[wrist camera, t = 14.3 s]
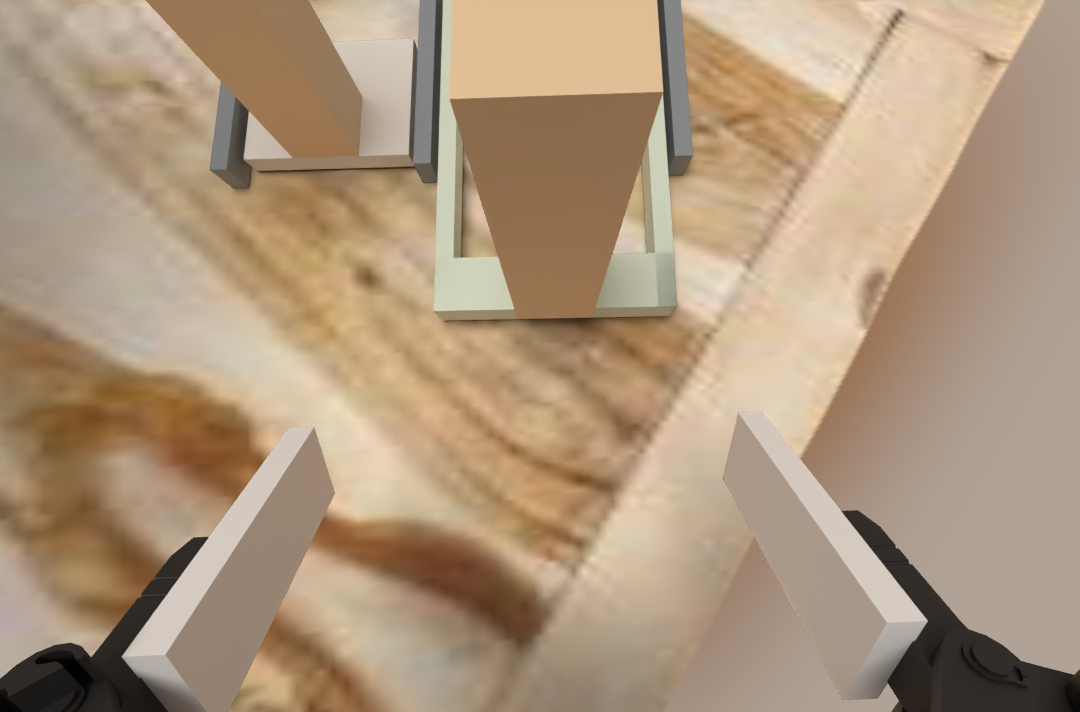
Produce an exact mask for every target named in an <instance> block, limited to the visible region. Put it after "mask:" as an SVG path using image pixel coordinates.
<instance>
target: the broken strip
mask: <svg viewBox="0 0 1080 712" xmlns="http://www.w3.org/2000/svg"><path fill="white" fill-rule="evenodd" d="M146 1H147V2H148V3H149V4H150V6H151V7H152V8H153V9H154V10H155V11H156V12H157V13H158V14H159V15H160V16H161V17H162V18H163V19H164V21H165V22H166V23H167V24H168V25H169V26H170V27H171V28H172V29H173V30H174V31H175V32H176V33H177V35H178V36H179V37H180V38H181V39H182V40H183V41H184V42H185V43H186V44H187V45H188V46H189V47H190V48H191V50H192V51H193V52H194V53H195V54H196V55H197V56H198V57H199V58H200V59H201V60H202V61H203V62H204V63H205V65H206V66H207V67H208V68H209V69H210V70H211V71H212V72H213V73H214V74H215V75H216V76H217V77H218V78H219V80H220V81H221V82H222V83H223V84H224V85H225V86H226V87H227V88H228V89H229V90H230V91H231V92H232V93H233V95H234V96H235V97H236V98H237V99H238V100H239V101H240V102H241V103H242V104H243V105H244V106H245V107H246V108H247V110H248V111H249V116H248V125H247V133H246V142H245V151H244V160H245V161H246V162H247V163H248V164H249V165H250V166H251V167H253V168H254V169H255V170H256V171H271V170H305V169H339V168H373V167H407V166H414V164H413V157H414V132H415V108H416V83H417V58H418V50H417V47H416V44H415V41H414V39H392V40H365V41H338V42H331V40H330V38H329V36H328V34H327V33H326V31H325V29H324V27H323V25H322V24H321V22H320V20H319V18H318V17H317V15H316V13H315V11H314V9H313V8H312V6H311V4H310V2H309V1H308V0H146Z"/></svg>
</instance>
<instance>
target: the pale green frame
mask: <svg viewBox="0 0 1080 712" xmlns="http://www.w3.org/2000/svg"><path fill="white" fill-rule="evenodd" d="M463 145H464V148H465V151H466V154H467V158H468V161H469V164H470V167H471V171H472V174H473V177H474V180H475V183H476V187H477V190H478V193H479V196H480V200H481V203H482V206H483V209H484V213H485V216H486V219H487V222H488V226H489V229H490V232H491V235H492V238H493V242H494V245H495V248H496V251H497V255H498V257H468V258H461V229H462V178H463ZM641 161H642V176H643V193H644V211H645V228H646V246H647V253H636V254H612V253H613V250H614V247H615V244H616V241H617V237H618V234H619V231H620V228H621V225H622V222H623V218H624V215H625V212H626V209H627V206H628V202H629V199H630V196H631V193H632V190H633V187H634V183H635V180H636V177H637V174H638V171H639V167H640V164H641ZM676 307H677V293H676V279H675V264H674V249H673V235H672V220H671V205H670V191H669V176H668V161H667V147H666V132H665V117H664V103H663V80H662V65H661V51H660V36H659V21H658V7H657V0H443V17H442V50H441V83H440V116H439V150H438V183H437V216H436V249H435V283H434V312H435V313H436V314H437V315H438V316H439V317H440V318H441V319H442V320H493V319H543V318H594V317H644V316H669V315H670V313H671V312H672V311H673V310H674V309H675V308H676Z"/></svg>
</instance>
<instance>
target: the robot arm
mask: <svg viewBox="0 0 1080 712" xmlns="http://www.w3.org/2000/svg"><path fill="white" fill-rule="evenodd" d="M723 480H724V482H725V483H726V485H727V487H728V489H729V491H730V493H731V495H732V496H733V498H734V500H735V502H736V504H737V506H738V507H739V509H740V511H741V513H742V515H743V517H744V519H745V520H746V522H747V524H748V526H749V528H750V530H751V532H752V533H753V535H754V537H755V539H756V541H757V543H758V544H759V546H760V548H761V550H762V552H763V554H764V556H765V557H766V559H767V561H768V563H769V565H770V567H771V569H772V570H773V572H774V574H775V576H776V578H777V580H778V581H779V583H780V585H781V587H782V589H783V591H784V592H785V594H786V596H787V598H788V600H789V602H790V604H791V606H792V607H793V609H794V611H795V613H796V615H797V617H798V619H799V620H800V622H801V624H802V626H803V628H804V630H805V632H806V633H807V635H808V637H809V639H810V641H811V643H812V644H813V646H814V648H815V650H816V652H817V654H818V655H819V657H820V659H821V661H822V663H823V665H824V667H825V668H826V670H827V672H828V674H829V676H830V678H831V680H832V681H833V683H834V685H835V687H836V689H837V691H838V693H839V694H840V696H841V698H842V700H854V699H875V698H878V697H879V696H880V694H881V693H882V691H883V690H884V688H885V686H886V685H887V683H888V684H889V685H890V687H891V689H892V690H893V692H894V693H895V695H896V696H897V698H898V700H899V702H898V703H897V705H896V706H895V708H894V709H893V710H892V712H1080V670H1079V671H1078V672H1077V673H1076V674H1075V675H1072V674H1068V673H1064V672H1061V671H1057V670H1053V669H1049V668H1045V667H1041V666H1037V665H1034V664H1030V663H1026V662H1023V661H1020V660H1019V659H1018V658H1017V657H1016V656H1015V655H1014V654H1013V653H1011V652H1010V651H1009V650H1008V649H1007V648H1005V647H1004V646H1003V645H1001V644H1000V643H998V642H996V641H994V640H993V639H991V638H989V637H988V636H986V635H983V634H980V633H977V632H975V631H972V630H968V629H967V627H965V625H964V624H963V623H962V622H961V621H960V620H959V619H958V618H957V617H956V615H955V614H954V613H953V612H952V611H951V610H950V608H949V607H948V606H947V605H946V604H945V602H944V601H943V600H942V599H941V598H940V597H939V596H938V594H937V593H936V592H935V591H934V590H933V588H932V587H931V586H930V585H929V584H928V583H927V581H926V580H925V579H924V578H923V577H922V576H921V574H920V573H919V572H918V571H917V570H916V569H915V567H914V566H913V565H911V564H909V562H908V561H909V560H908V559H907V558H906V557H905V556H904V554H903V553H902V552H901V551H900V550H899V549H896V547H895V544H894V543H893V542H892V540H891V539H890V538H889V537H888V536H887V534H886V533H885V532H884V531H883V530H882V529H881V527H880V526H878V525H877V524H876V523H874V522H873V521H871V520H870V519H869V518H867V517H866V516H865V515H863V514H862V513H860V512H859V511H857V510H855V511H841V510H840V509H839V508H838V507H837V505H836V504H835V503H834V502H833V500H832V499H831V498H830V496H829V495H828V494H827V493H826V491H825V490H824V489H823V488H822V486H821V485H820V484H819V483H818V481H817V480H816V479H815V478H814V476H813V475H812V474H811V472H810V471H809V470H808V469H807V467H806V466H805V465H804V464H803V462H802V461H801V460H800V458H799V457H798V456H797V455H796V453H795V452H794V451H793V450H792V448H791V447H790V446H789V445H788V443H787V442H786V441H785V439H784V438H783V437H782V436H781V434H780V433H779V432H778V431H777V429H776V428H775V427H774V426H773V424H772V423H771V422H770V420H769V419H768V418H767V417H766V415H765V414H764V413H763V412H738V416H737V420H736V424H735V429H734V433H733V437H732V442H731V446H730V450H729V455H728V459H727V463H726V467H725V472H724V476H723ZM334 494H335V492H334V488H333V485H332V482H331V479H330V476H329V473H328V469H327V466H326V463H325V460H324V457H323V454H322V450H321V447H320V444H319V441H318V438H317V435H316V431H315V428H314V427H301V428H288V430H287V431H286V432H285V434H284V435H283V437H282V438H281V439H280V441H279V442H278V443H277V445H276V446H275V448H274V449H273V450H272V452H271V453H270V454H269V456H268V457H267V458H266V460H265V461H264V463H263V464H262V465H261V467H260V468H259V469H258V471H257V472H256V474H255V475H254V476H253V478H252V479H251V480H250V482H249V483H248V484H247V486H246V487H245V489H244V490H243V491H242V493H241V494H240V495H239V497H238V498H237V500H236V501H235V502H234V504H233V505H232V506H231V508H230V509H229V510H228V512H227V513H226V515H225V516H224V517H223V519H222V520H221V521H220V523H219V524H218V526H217V527H216V528H215V530H214V531H213V532H212V534H211V535H210V536H209V537H195V538H193V539H191V540H190V541H189V542H188V543H186V544H185V545H184V546H183V547H181V548H180V549H179V550H178V551H177V552H175V553H174V554H173V555H172V556H171V557H170V558H169V559H168V561H167V562H166V563H165V564H164V566H163V567H162V568H161V570H160V571H159V572H158V573H157V575H156V576H155V580H153V581H151V582H150V584H149V585H148V586H147V587H146V589H145V590H144V591H143V592H142V596H141V598H138V599H137V600H136V601H135V603H134V604H133V605H132V606H131V608H130V609H129V610H128V612H127V613H126V614H125V615H124V617H123V618H122V619H121V621H120V622H119V623H118V624H117V626H116V627H115V628H114V629H113V631H112V632H111V633H110V635H109V636H108V637H107V638H106V640H105V641H104V642H103V643H102V645H101V646H100V647H99V649H98V650H97V651H96V652H95V654H94V655H93V656H92V657H90V656H89V655H88V653H87V652H86V651H85V650H84V649H83V648H82V646H79V645H76V644H73V643H66V644H60V645H54V646H52V647H49V648H47V649H44V650H42V651H40V652H37V653H35V654H34V655H32V656H30V657H29V658H27V659H25V660H24V661H22V662H21V663H19V664H17V665H16V666H15V667H14V668H12V669H11V670H10V671H9V672H8V673H7V674H5V675H4V676H3V677H2V678H1V679H0V712H229V710H230V708H231V706H232V704H233V701H234V699H235V697H236V695H237V693H238V691H239V689H240V687H241V685H242V683H243V681H244V679H245V677H246V675H247V673H248V671H249V669H250V667H251V665H252V662H253V660H254V658H255V656H256V654H257V652H258V650H259V648H260V646H261V644H262V642H263V640H264V638H265V636H266V634H267V632H268V630H269V628H270V626H271V623H272V621H273V619H274V617H275V615H276V613H277V611H278V609H279V607H280V605H281V603H282V601H283V599H284V597H285V595H286V593H287V591H288V589H289V587H290V584H291V582H292V580H293V578H294V576H295V574H296V572H297V570H298V568H299V566H300V564H301V562H302V560H303V558H304V556H305V554H306V552H307V550H308V548H309V545H310V543H311V541H312V539H313V537H314V535H315V533H316V531H317V529H318V527H319V525H320V523H321V521H322V519H323V517H324V515H325V513H326V511H327V509H328V506H329V504H330V502H331V500H332V498H333V496H334Z"/></svg>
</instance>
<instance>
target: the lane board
mask: <svg viewBox="0 0 1080 712" xmlns="http://www.w3.org/2000/svg"><path fill="white" fill-rule="evenodd" d="M657 7H658V21H659V36H660V51H661V65H662V80H663V103H664V117H665V132H666V147H667V161H668V176H676V175H683V174H684V172H685V170H686V168H687V166H688V164H689V162H690V160H691V158H692V156H693V152H692V140H691V127H690V114H689V102H688V89H687V76H686V64H685V51H684V39H683V26H682V13H681V1H680V0H657ZM442 17H443V0H420V9H419V34H418V58H417V83H416V108H415V132H414V157H413V164H414V166H415V168H416V170H417V172H418V174H419V176H420V178H421V180H422V182H423V183H429V182H438V150H439V116H440V83H441V50H442ZM248 116H249V111H248V110H247V108H246V107H245V106H244V105H243V104H242V103H241V102H240V101H239V100H238V99H237V98H236V97H235V96H234V95H233V93H232V92H231V91H230V90H229V89H228V88H227V87H226V86H225V85H224V84H223V83H222V82H221V85H220V93H219V101H218V109H217V117H216V124H215V132H214V140H213V148H212V156H211V164H210V170H211V171H212V172H213V173H215V174H216V175H217V176H219V177H220V178H221V179H222V180H224V181H225V182H226V183H228V184H229V185H230V186H231V187H233V188H249V183H250V174H251V166H250V165H249V164H248V163H247V162H246V161H245V160H244V151H245V142H246V133H247V125H248Z"/></svg>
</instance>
